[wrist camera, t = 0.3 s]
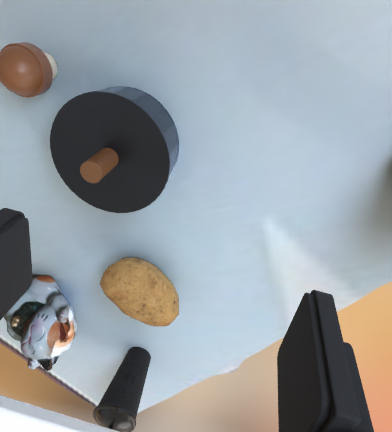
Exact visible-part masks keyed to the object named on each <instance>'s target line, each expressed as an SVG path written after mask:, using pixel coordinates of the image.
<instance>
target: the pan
mask: <svg viewBox="0 0 392 432" xmlns="http://www.w3.org/2000/svg"><path fill="white" fill-rule="evenodd" d="M102 91H106V92H112V93H117V94H120V95H122V96H125V97H127V98H129V99H131V100H133V101H135V102H136V103H138V104H139V105H140V106H142V107H143V108H144V109H145V110H146V111H148V112H149V113H150V115H151V116H152V117H153V118H154V119H155V120H156V122H157V123H158V125H159V126H160V128H161V130H162V131H163V133H164V135H165V138H166V140H167V143H168V147H169V151H170V158H171V168H170V173H171V171H172V169H173V167H174V165H175V163H176V161H177V157H178V151H179V140H178V134H177V129H176V127H175V124H174V122H173V120H172V118H171V116H170V115H169V113H168V112H167V110H166V109H165V108H164V107H163V105H162V104H161V103H160V102H158V101H157V100H156V99H155V98H153V97H152V96H151V95H149V94H147V93H145V92H143V91H141V90H138V89H135V88H131V87H112V88H107V89H105V90H102ZM169 175H170V174H169Z"/></svg>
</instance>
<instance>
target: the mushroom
mask: <svg viewBox="0 0 392 432" xmlns="http://www.w3.org/2000/svg"><path fill="white" fill-rule="evenodd" d="M57 73H58V66H57V63H56V61H55V59H54V58H53V57H52V56H51V55H50V54H48V53H46V52H43V51H42V50H40V49H39V48H38V47H36V46H35V45H33V44H30V43H14V44H9V45H7V46H5V47H4V48H3V49H2V50H1V52H0V82H1V83H2V84H3V85H4V86H5V87H6V88H7V89H8V90H9V91H11V92H13V93H15V94H17V95H19V96H22V97H33V96H36V95H39V94H42V93H44V92H46V91H47V90H48V89H49V88H50V86H51V83H52V80H53V79H55V77H56V76H57Z"/></svg>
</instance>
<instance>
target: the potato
mask: <svg viewBox="0 0 392 432" xmlns="http://www.w3.org/2000/svg"><path fill="white" fill-rule="evenodd" d="M100 285H101V287H102V289H103V291H104V293H105V295H106V296H107V297H108V298H109V299H110V300H111V301H112V302H113V303H114V304H116V305H117V306H118V307H119V309H120V310H121V311H122V312H123V313H124V314H126V315H128V316H130V317H131V318H134V319H137V320H139V321H141V322H143V323H145V324H148V325H151V326H167V325H169V324H170V323H171V322H172V321H173V320H174V319H175V318H176V317H177V316H178V315H179V298H178V294H177V292H176V289H175V287H174V286H173V284H172V283H171V282H170V280H169V279H168V278H167V277H166V276H165V275H164V274H163V273H162V272H161V271H160V270H159V269H158V268H157V267H156V266H155V265H153V264H151V263H149V262H147V261H145V260H142V259H139V258H135V257H130V258H122V259H121V260H119V261H118V262H116V263H114V264H112V265H110V266H109V267H108V268H107V269H106V270H105V272H104V274H103V276H102V278H101V282H100Z"/></svg>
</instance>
